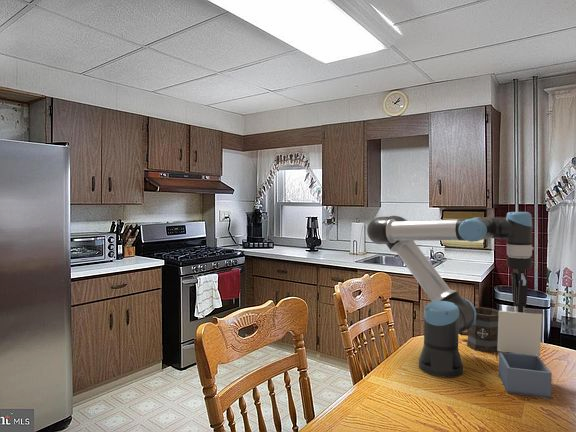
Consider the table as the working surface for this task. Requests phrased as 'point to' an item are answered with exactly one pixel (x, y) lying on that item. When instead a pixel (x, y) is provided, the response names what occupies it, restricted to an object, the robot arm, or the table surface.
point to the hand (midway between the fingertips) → (519, 324)
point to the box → (524, 375)
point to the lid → (519, 332)
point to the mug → (484, 331)
